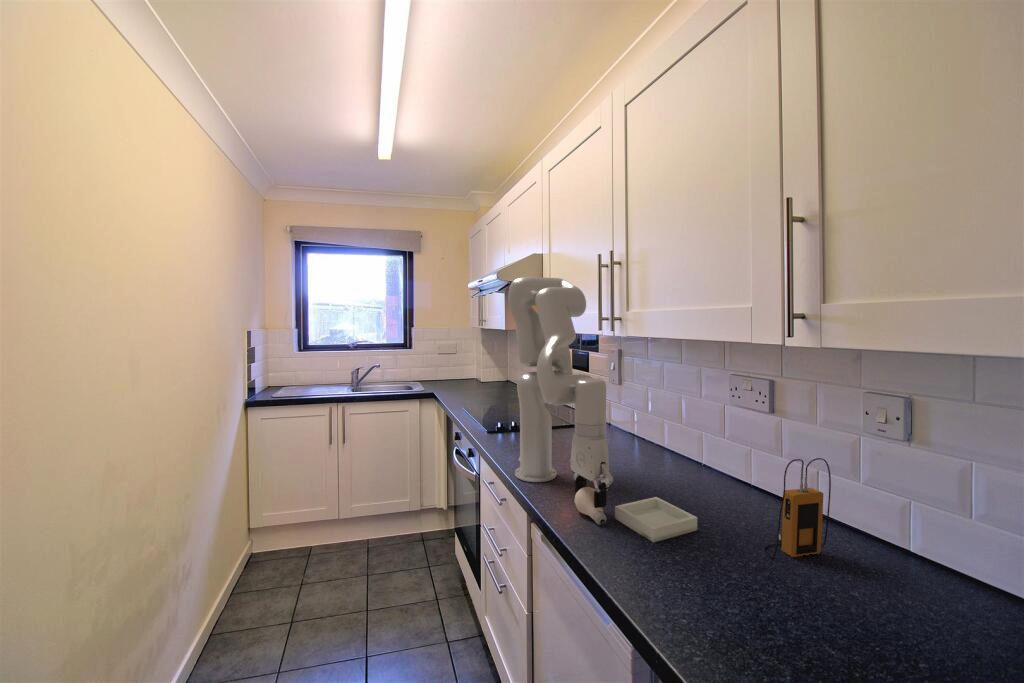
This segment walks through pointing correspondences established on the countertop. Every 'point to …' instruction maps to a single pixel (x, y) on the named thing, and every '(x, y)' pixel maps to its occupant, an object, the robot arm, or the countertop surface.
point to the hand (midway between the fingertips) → (590, 500)
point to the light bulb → (589, 505)
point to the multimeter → (802, 518)
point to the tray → (656, 519)
